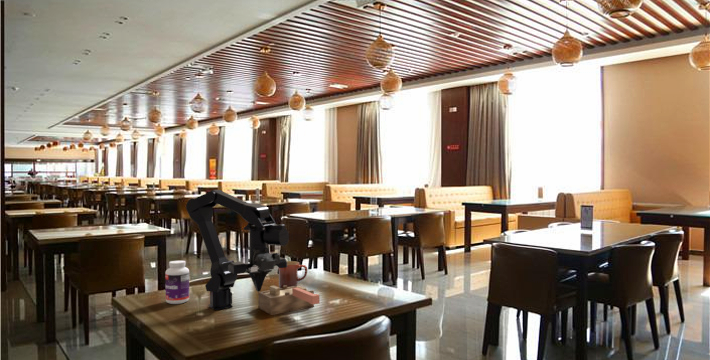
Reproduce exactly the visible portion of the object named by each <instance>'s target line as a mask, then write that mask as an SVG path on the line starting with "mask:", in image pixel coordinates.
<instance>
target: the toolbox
mask: <svg viewBox="0 0 710 360" xmlns="http://www.w3.org/2000/svg"><path fill="white" fill-rule="evenodd" d="M298 286H301V285H299V284H298ZM296 287H297V286H292V287H287V285H284V286H283V288H280V287H279V288H280V290H285V289H291V288H296ZM267 292H270V289H268V290H264V291H263V290H262V291H261V290H260V291H259V292H258V291H257V294H258V296H257V301H258V302H257V303H258V304H257V305H258V309H259V310H260V311H263V312H265V313H267V314H269V315H271V316H273V315H278V314H283V313H289V311H290V312H294V311H300V310H303V309H309V308H315V304H314V305H312V304H310V303H309V302H307V301H304V300H302V299H300V298H298V297H295V296H293V295H292V294H290V293H289V292H285V295H281V296H276V297H271V296H269V295H267V294H265V293H267ZM308 292H310V293H313V294H315V291H314V290H313V289H312V290H309V291H308Z"/></svg>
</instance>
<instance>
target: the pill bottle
mask: <svg viewBox="0 0 710 360" xmlns="http://www.w3.org/2000/svg"><path fill="white" fill-rule="evenodd" d="M168 266H169V268H167V269H166V270H165V274H164V275H165V277H164V278H165V285H164V286H165V302H166V303H168V304H171V305H179V304H183V303H186V302H188V301H189V300H190V269H189V268H188V267H186V260H170V261H169V262H168Z"/></svg>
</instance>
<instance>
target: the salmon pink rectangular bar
mask: <svg viewBox="0 0 710 360" xmlns="http://www.w3.org/2000/svg"><path fill="white" fill-rule="evenodd" d="M292 295H293V296H295V297H298V298H300V299H302V300H304V301H307V302H309V303H310V304H312V305H314V306H315V305H318V304H320V302H321V301H320V294H318V293H314V294H313V293H310V292H308V291H305V290H303V289H300V288H298V287H296V288H292Z"/></svg>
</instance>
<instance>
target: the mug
mask: <svg viewBox="0 0 710 360" xmlns="http://www.w3.org/2000/svg"><path fill="white" fill-rule="evenodd" d="M277 268H278V267H277ZM300 268H304V274H303V276H301V277H299V275H298V272H299V271H298V269H300ZM307 274H308V267H307V266H306V265H305V264H300V262H299V261H293V260H289V261H288V260H287V267H286V268H278V287H279V288H283V286H284V285H287V287H292V286H299V282H301V281H303V280H304V279H306V277H307Z"/></svg>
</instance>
